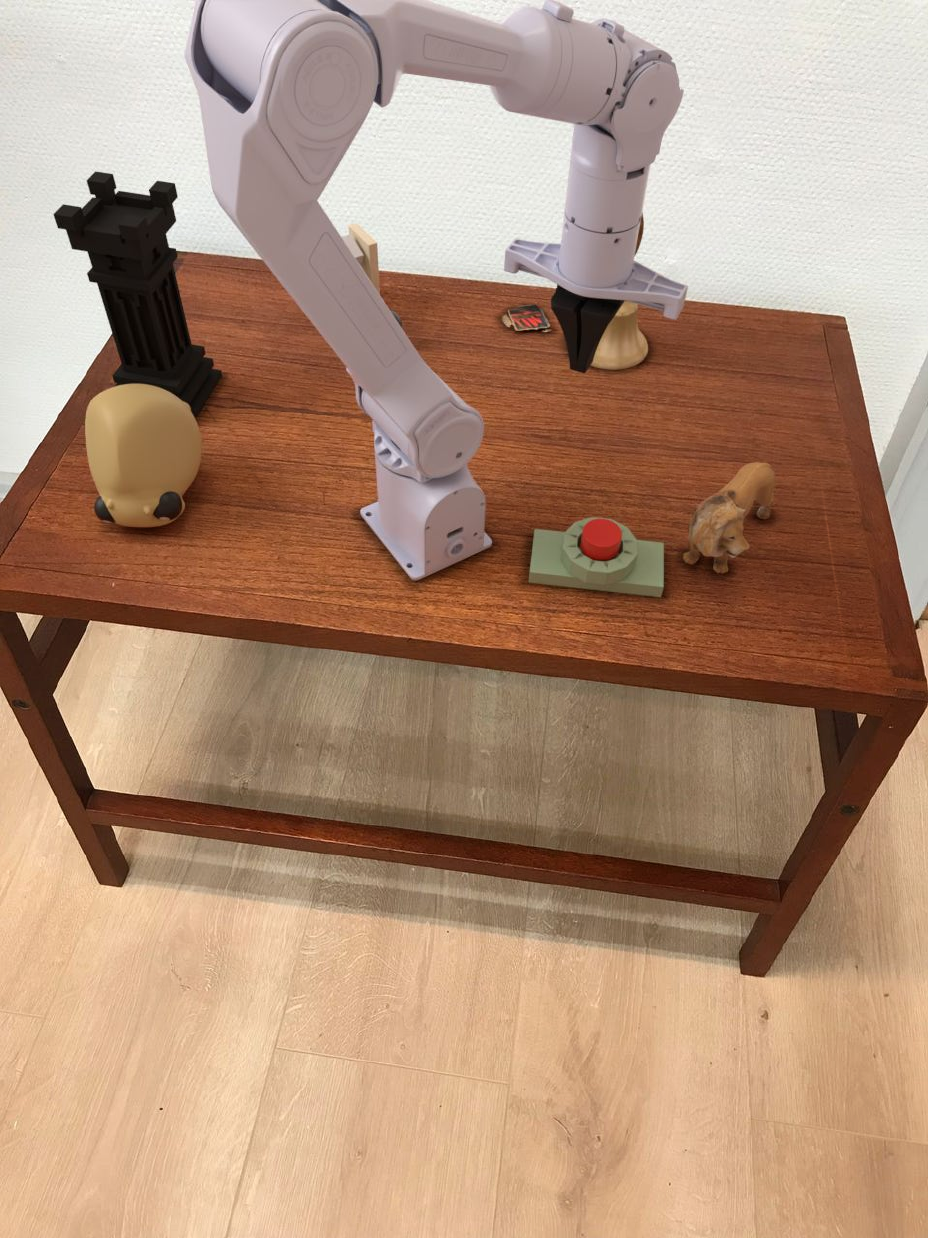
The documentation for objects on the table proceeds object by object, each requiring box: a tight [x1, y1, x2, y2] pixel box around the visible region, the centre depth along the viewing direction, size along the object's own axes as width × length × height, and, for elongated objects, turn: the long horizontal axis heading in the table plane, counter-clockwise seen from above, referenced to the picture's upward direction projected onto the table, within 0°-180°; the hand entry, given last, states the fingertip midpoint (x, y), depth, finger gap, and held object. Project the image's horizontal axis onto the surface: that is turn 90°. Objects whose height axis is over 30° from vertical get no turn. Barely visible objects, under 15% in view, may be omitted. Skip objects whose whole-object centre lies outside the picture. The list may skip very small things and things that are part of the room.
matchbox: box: [500, 303, 553, 333], centre depth 104 cm, size 5×5×1 cm
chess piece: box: [52, 170, 223, 420], centre depth 88 cm, size 8×8×20 cm
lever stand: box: [348, 222, 381, 296], centre depth 102 cm, size 7×6×8 cm
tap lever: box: [341, 234, 403, 329], centre depth 100 cm, size 12×3×3 cm, turn 33°
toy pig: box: [84, 384, 203, 528], centre depth 83 cm, size 10×12×11 cm
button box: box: [527, 516, 665, 598], centre depth 81 cm, size 11×6×3 cm, turn 83°
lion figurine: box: [682, 461, 776, 574], centre depth 81 cm, size 15×5×9 cm, turn 151°
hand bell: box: [590, 211, 649, 371], centre depth 96 cm, size 8×8×16 cm
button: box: [580, 518, 622, 561], centre depth 80 cm, size 3×3×2 cm
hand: (581, 364), depth 83 cm, fingers closed
